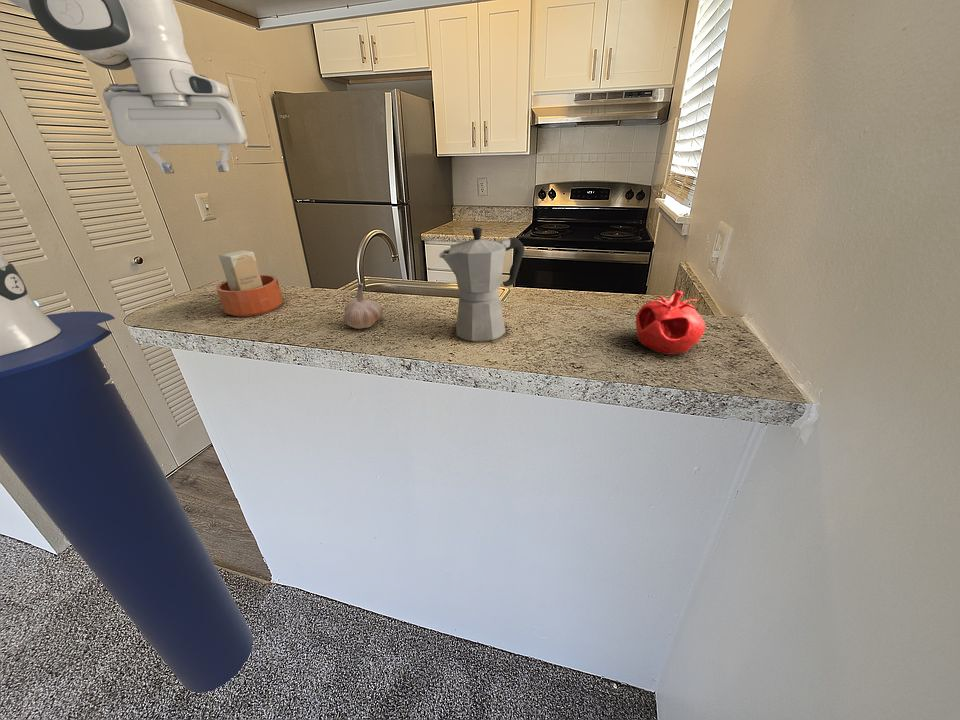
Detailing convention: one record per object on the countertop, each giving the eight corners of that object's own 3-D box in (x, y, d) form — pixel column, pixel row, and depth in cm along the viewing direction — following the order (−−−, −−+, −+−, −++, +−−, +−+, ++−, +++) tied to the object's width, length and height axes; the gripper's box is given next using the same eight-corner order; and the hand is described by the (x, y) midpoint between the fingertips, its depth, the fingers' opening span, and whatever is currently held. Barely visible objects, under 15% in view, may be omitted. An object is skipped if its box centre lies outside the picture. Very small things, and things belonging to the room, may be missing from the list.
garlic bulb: (378, 313, 81) (371, 274, 77) (391, 325, 76) (385, 284, 72) (340, 322, 78) (332, 282, 74) (352, 335, 72) (343, 292, 69)
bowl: (217, 320, 81) (208, 294, 78) (233, 301, 90) (225, 277, 88) (278, 313, 83) (271, 288, 80) (287, 295, 93) (281, 272, 90)
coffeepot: (457, 350, 66) (450, 238, 57) (436, 329, 73) (427, 227, 65) (536, 330, 72) (540, 225, 63) (509, 313, 79) (509, 217, 71)
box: (246, 310, 83) (228, 257, 78) (234, 307, 85) (216, 254, 80) (269, 302, 87) (254, 251, 82) (257, 299, 89) (242, 249, 84)
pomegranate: (656, 327, 71) (666, 276, 67) (711, 347, 64) (727, 291, 60) (619, 342, 67) (627, 288, 62) (674, 366, 59) (688, 307, 55)
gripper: (87, 81, 65) (124, 175, 71) (227, 82, 69) (250, 171, 75) (108, 86, 70) (141, 173, 76) (237, 87, 74) (258, 170, 81)
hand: (196, 172), depth 76 cm, fingers open, 8 cm apart
